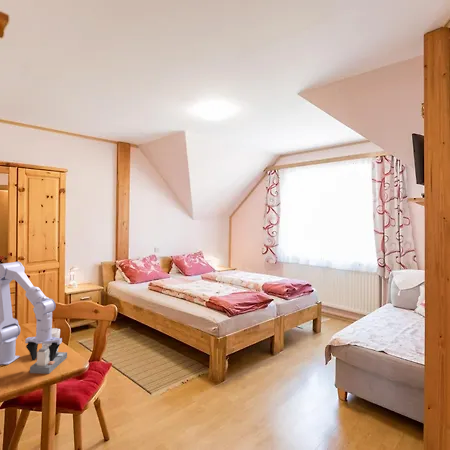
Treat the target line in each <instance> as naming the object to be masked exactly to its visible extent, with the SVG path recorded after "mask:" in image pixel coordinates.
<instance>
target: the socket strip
mask: <svg viewBox="0 0 450 450" xmlns="http://www.w3.org/2000/svg"><path fill="white" fill-rule="evenodd" d="M67 358H68V352H67V351H65V352H64V351H63V352H61V351H57V352H56V354H55V358H54V360H53V361H50V352H49V363H48V364H47V365H46V366H37V361H36V362H35V363H33V364H32V365H31V366H30V367H29V374H51V372H53V371H54V370H55V369H56V368H58V366H60V364H62V363H63V362H64V361H65V360H66V359H67Z"/></svg>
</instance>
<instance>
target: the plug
mask: <svg viewBox="0 0 450 450" xmlns="http://www.w3.org/2000/svg"><path fill="white" fill-rule="evenodd" d="M36 362H37V366H46V365H47V364H48V363H49V349H48V348H42V347H41V348H39V349H38V350H37V358H36Z"/></svg>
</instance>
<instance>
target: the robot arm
mask: <svg viewBox="0 0 450 450" xmlns="http://www.w3.org/2000/svg"><path fill="white" fill-rule="evenodd" d="M25 270H26V269H25V266H24V265H23V264H22V262H20V261H14V262H13V261H12V262H5V263H0V365H8V366H9V365H10V364H11V363H13V362H15V361H16V360H17V359H19V358H20V357H21V356H20V355H16V343H17V341H16V340H17V339H18V337H19V336H20V335H21V326H20V325H19V321H18V319H17V318H14V316H13V308H12V298H11V289H10V288H11V286H10V284H11V282H12V281H15V282H17V284H18V285H19V286H20V287H21V288H22V289H23V290H24V291H25V298H27V300H28V301H29V302H30V303H31V304H32V306H33V308H32V309H33V313H34V314H35V319H36V331H35V333H36V334H35V336H28V337H27V338H25V342H24V343H25V344H27V345H25V348H26V349H27V351H28V353H29V356H30V358H31V361H35V360H37V352H38V345H40V344H41V345H42V343H51V344H52V345H50V346H49V350H50V361H53V360H54V358H55V354H56V351H57V349H58V350H59V347H60V345H61V344H62V342H63V337H60V338H56V337H51V336H52V328H53V312H54V311H55V309H56V307H57V306H56V305H57V304H56V302H55V300H54V299H53V298H49V297H48V296H46V294H44V292H43V291H42V290H41V288H40V287H38V286H34V285H33V283H32V282H31V280H30V279H29V277H28V276H27V274H26V272H25ZM57 352H58V351H57Z"/></svg>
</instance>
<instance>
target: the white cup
mask: <svg viewBox="0 0 450 450" xmlns="http://www.w3.org/2000/svg"><path fill="white" fill-rule="evenodd" d="M60 336H61V329H60V328H57V327H54V328H53V327H52V336H51V337H56V338H61V337H60ZM50 345H52V344H51V343H41V348H48V349H49V346H50ZM49 352H50V350H49ZM56 352H59V348H58V349H57V351H56Z"/></svg>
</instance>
